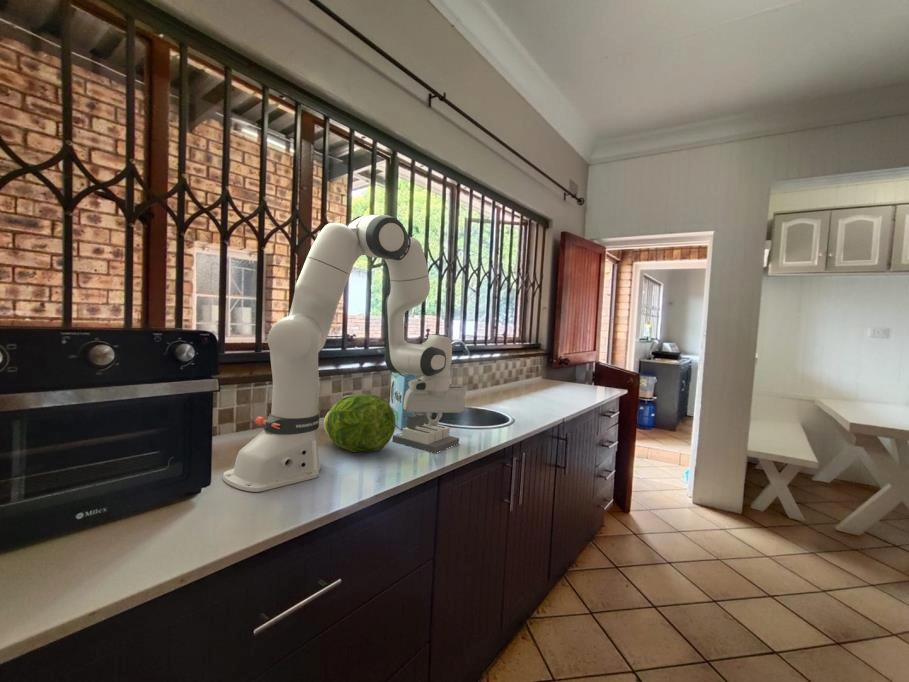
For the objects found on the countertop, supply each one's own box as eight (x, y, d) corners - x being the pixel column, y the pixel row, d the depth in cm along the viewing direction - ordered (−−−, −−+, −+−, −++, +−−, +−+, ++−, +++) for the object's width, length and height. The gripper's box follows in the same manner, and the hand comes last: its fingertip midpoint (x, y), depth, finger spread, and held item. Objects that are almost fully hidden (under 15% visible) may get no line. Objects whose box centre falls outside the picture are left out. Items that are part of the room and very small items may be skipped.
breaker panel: (435, 453, 124) (436, 437, 123) (392, 441, 132) (393, 426, 132) (458, 444, 136) (459, 429, 135) (417, 433, 144) (418, 419, 144)
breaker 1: (411, 428, 130) (412, 417, 130) (406, 427, 131) (407, 416, 131) (416, 427, 132) (417, 416, 132) (411, 426, 133) (412, 415, 133)
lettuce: (351, 436, 136) (341, 387, 134) (408, 439, 125) (399, 386, 122) (312, 459, 121) (300, 404, 118) (373, 465, 110) (361, 405, 107)
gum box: (413, 430, 148) (418, 368, 147) (399, 430, 146) (404, 367, 145) (399, 417, 166) (404, 361, 165) (387, 417, 164) (391, 361, 163)
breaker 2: (427, 423, 138) (428, 413, 137) (423, 422, 139) (423, 412, 138) (431, 422, 140) (432, 412, 139) (427, 421, 141) (427, 411, 140)
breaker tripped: (419, 426, 134) (420, 415, 134) (415, 424, 135) (415, 414, 135) (424, 424, 136) (424, 414, 136) (419, 423, 137) (420, 413, 137)
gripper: (463, 383, 138) (459, 423, 139) (404, 381, 132) (400, 423, 132) (469, 386, 132) (466, 428, 133) (407, 384, 126) (404, 428, 126)
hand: (433, 425), depth 133 cm, fingers closed
